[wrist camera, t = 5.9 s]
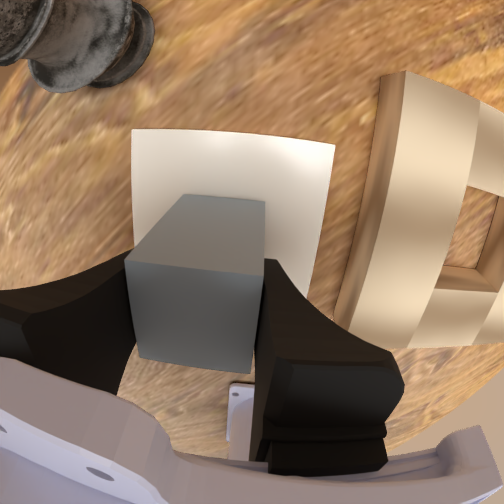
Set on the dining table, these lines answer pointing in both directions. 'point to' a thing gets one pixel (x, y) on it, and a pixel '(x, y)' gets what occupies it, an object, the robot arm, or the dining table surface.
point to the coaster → (238, 184)
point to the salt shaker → (76, 40)
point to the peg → (199, 283)
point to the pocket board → (425, 222)
